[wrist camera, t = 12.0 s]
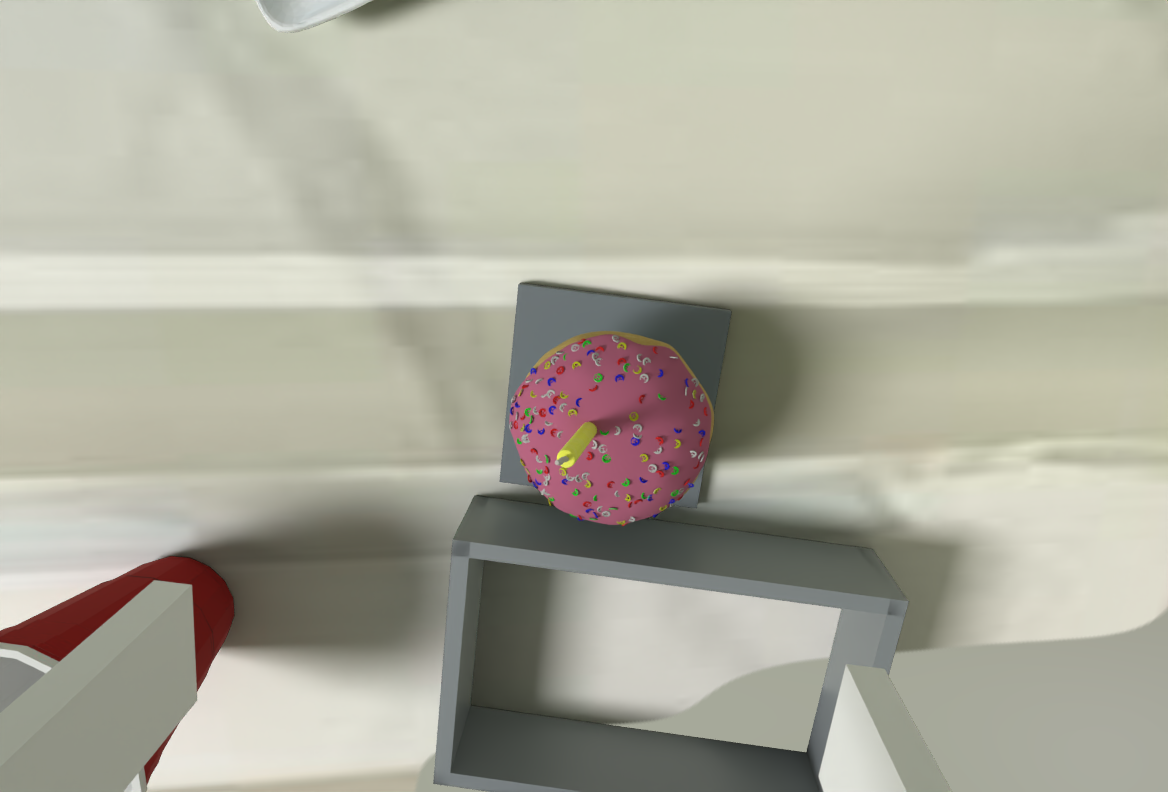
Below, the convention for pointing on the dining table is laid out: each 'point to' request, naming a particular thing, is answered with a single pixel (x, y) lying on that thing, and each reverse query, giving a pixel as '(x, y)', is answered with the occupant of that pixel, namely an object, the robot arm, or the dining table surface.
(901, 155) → the dining table surface
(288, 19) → the salad plate
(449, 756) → the case
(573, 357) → the cupcake
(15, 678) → the plastic cup
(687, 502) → the mat
